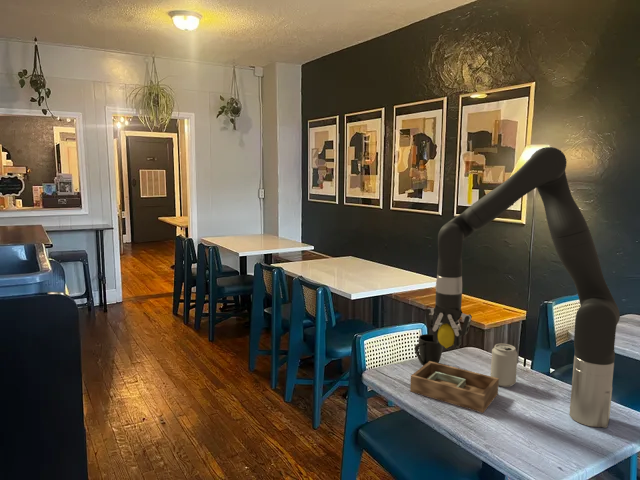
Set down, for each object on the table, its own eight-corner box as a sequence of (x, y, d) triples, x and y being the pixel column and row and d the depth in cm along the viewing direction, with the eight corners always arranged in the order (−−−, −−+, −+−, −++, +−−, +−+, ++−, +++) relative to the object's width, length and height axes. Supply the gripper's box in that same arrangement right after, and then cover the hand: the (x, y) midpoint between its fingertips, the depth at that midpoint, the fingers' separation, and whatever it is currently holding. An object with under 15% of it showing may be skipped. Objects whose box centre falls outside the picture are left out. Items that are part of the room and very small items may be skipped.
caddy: (497, 394, 143) (498, 378, 142) (483, 413, 132) (484, 396, 131) (429, 375, 156) (429, 361, 155) (410, 391, 145) (410, 375, 144)
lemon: (457, 347, 145) (459, 321, 143) (453, 353, 140) (454, 326, 139) (440, 343, 147) (440, 318, 146) (434, 349, 143) (435, 323, 141)
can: (511, 390, 146) (514, 352, 144) (487, 383, 150) (489, 347, 148) (518, 381, 152) (520, 345, 150) (494, 375, 156) (496, 340, 154)
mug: (405, 366, 163) (406, 339, 162) (428, 357, 171) (429, 332, 169) (424, 374, 157) (425, 346, 156) (447, 365, 164) (448, 338, 163)
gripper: (477, 291, 140) (474, 346, 142) (431, 284, 148) (429, 336, 151) (468, 296, 134) (465, 354, 136) (420, 289, 142) (419, 343, 145)
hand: (446, 344), depth 143 cm, fingers closed on lemon, 5 cm apart
